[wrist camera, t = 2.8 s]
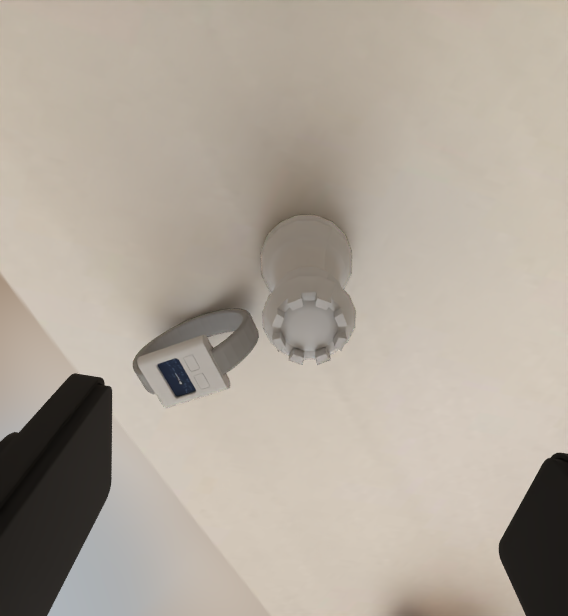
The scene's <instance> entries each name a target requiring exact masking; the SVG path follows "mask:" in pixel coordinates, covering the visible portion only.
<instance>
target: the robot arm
mask: <svg viewBox="0 0 568 616" xmlns="http://www.w3.org/2000/svg"><path fill="white" fill-rule="evenodd" d="M111 456H112V389H111V387H110V386H105V385H104V380H103V379H102V378H100V377H94V376H88V375H82V374H72V375H71V376H70V377H69V378H68V379H67V380H66V381H65V382H64V383H63V384H62V385H61V386H60V388H59V389H58V390H57V391H56V392H55V393H54V394H53V395H52V396H51V398H50V399H49V400H48V401H47V402H46V403H45V404H44V405H43V407H42V408H41V409H40V410H39V411H38V412H37V413H36V414H35V415H34V416H33V418H32V419H31V420H30V421H29V422H28V423H27V424H26V425H25V426H24V428H23V429H22V430H21V431H20V432H19V433H17V432H14V433H11V434H9V435H7V436H6V437H5V438H4V439H3V440H2V441H1V442H0V616H47V615H48V613H49V611H50V609H51V607H52V605H53V603H54V601H55V599H56V597H57V595H58V593H59V591H60V589H61V587H62V585H63V583H64V581H65V579H66V578H67V576H68V573H69V572H70V570H71V568H72V566H73V564H74V562H75V560H76V558H77V556H78V554H79V552H80V550H81V548H82V546H83V544H84V542H85V540H86V538H87V536H88V535H89V533H90V531H91V529H92V527H93V525H94V523H95V521H96V519H97V517H98V515H99V513H100V511H101V509H102V507H103V505H104V503H105V501H106V499H107V497H108V494H109V491H110V487H111V461H112V460H111V459H112V457H111ZM499 555H500V559H501V562H502V564H503V566H504V568H505V570H506V573H507V575H508V577H509V579H510V581H511V583H512V586H513V588H514V590H515V592H516V594H517V597H518V599H519V601H520V603H521V605H522V608H523V610H524V612H525V614H526V616H568V454H566V453H556V454H554V455H553V456H552V457H551V458H548V459H546V460H545V461H544V463H543V464H542V466H541V468H540V470H539V472H538V473H537V475H536V477H535V479H534V481H533V482H532V484H531V486H530V488H529V490H528V491H527V493H526V495H525V497H524V499H523V501H522V502H521V504H520V506H519V508H518V510H517V511H516V513H515V515H514V517H513V519H512V520H511V522H510V524H509V526H508V528H507V529H506V531H505V533H504V535H503V537H502V539H501V540H500V543H499Z"/></svg>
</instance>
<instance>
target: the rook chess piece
mask: <svg viewBox="0 0 568 616" xmlns="http://www.w3.org/2000/svg"><path fill="white" fill-rule="evenodd" d="M351 251H352V250H351V248H350V245H349V243H348V240H347V238H346V235H345V234H344V233H343V232H342V231H341V230H340V229H339V228H338V227H337V226H336V225H335V224H334V223H333V222H332V221H329V220H327V219H324V218H322V217H319V216H317V215H296V216H293V217H291V218H289V219H287V220H284V221H282V222H280V223H279V224H278V225H277V226H276V227H275V228H274V229H273V230H272V231H271V232H270V233H269V234H268V235H267V237H266V239H265V242H264V245H263V247H262V250H261V273H262V277H263V279H264V281H265V283H266V285H267V287H268V289H269V291H270V292H271V294H270V295H269V296H268V299H267V301H266V304H265V306H264V309H263V311H262V316H263V329H264V331H265V333H266V335H267V337H268V338H269V340H270V342H271V344H273V345H274V346H275V347H276V348H277V350H278V352H279V351H281V352H282V353H284V354H286V355H289V361H292V362H295V363H298V364H301V365H303V360H304V359H316V363H317V365H318V364H321V363H324V362H327V361H329V360H330V355H331V354H334V353H335V352H337V351H338V350H340V351H341V350H342V348H343V346H344V345H345V344H346V343H347V342H348V340H349V338H350V336H351V334H352V332H353V330H354V328H355V318H356V310H355V307H354V305H353V303H352V300H351V298H350V296H349V294H348V293H347V292H346V291H344V288H345V286H346V284H347V282H348V280H349V278H350V276H351V273H352V255H351Z"/></svg>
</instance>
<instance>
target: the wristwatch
mask: <svg viewBox="0 0 568 616" xmlns="http://www.w3.org/2000/svg"><path fill="white" fill-rule="evenodd" d="M232 331H235V332H234V333H233V334H232V335H230V336H229V337H228V338H227V339H226V340H224V341H223V342H222V343H220V344H219V345H218V346H216V347H214V348H213V347H212V346H211V344H210V342H209V340H208V338H207V337H210V336H213V335H217V334H221V333H225V332H232ZM258 338H259V335H258V330H257V328H256V326H255V324H254V321H253V319H252V317H251V315H250V314H249V313H248V312H247V311H246V310H243V309H225V310H219V311H215V312H211V313H207V314H204V315H201V316H198V317H195V318H192V319H190V320H188V321H185V322H183V323H181V324H179V325H177V326H175V327H173V328H171V329H170V330H168V331H166V332H164V333H163V334H161V335H160V336H158V337H157V338H155V339H154V340H152V341H151V342H150V343H148V344H147V345H146V346H145V347H143V348H142V349H141V350H140V351H139V352H138V354H137V355H136V357H135V359H134V361H133V368H134V371H135V373H136V374H137V376H138V378H139V379H140V381H141V382H142V384H143V386H144V387H145V389H146V390H147V391H148V392H150V393H152V394H155V395H156V396H157V397H158V399H159V401H160V402H161V404H162V405H163V407H164V408H169V407H172V406H175V405H178V404H181V403H184V402H188V401H191V400H194V399H197V398H200V397H204V396H207V395H210V394H213V393H216V392H220V391H223V390H226V389H229V388H230V381H229V378H228V376H227V374H226V373H227V372H228V371H230V370H231V369H233V368H234V367H235V366H237V365H238V364H239V363H240V362H241V361H242V360H243V359H244V358H245V357H246V356H247V355H248V354H249V353H250V352H251V351H252V349H253V348H254V346H255V345H256V343H257V341H258Z"/></svg>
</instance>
